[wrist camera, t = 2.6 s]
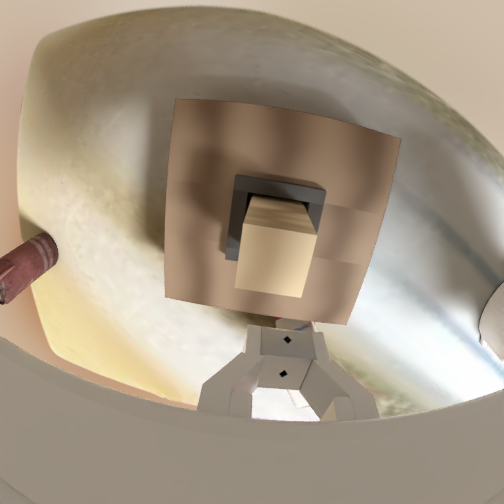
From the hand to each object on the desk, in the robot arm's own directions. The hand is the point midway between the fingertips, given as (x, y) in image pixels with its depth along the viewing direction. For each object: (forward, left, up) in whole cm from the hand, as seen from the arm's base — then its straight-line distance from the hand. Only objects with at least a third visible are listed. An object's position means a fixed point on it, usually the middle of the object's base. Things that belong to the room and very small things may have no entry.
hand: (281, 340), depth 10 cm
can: (+36, +12, -23) cm, 45 cm away
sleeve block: (0, 0, -23) cm, 23 cm away
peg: (0, 0, -16) cm, 16 cm away
